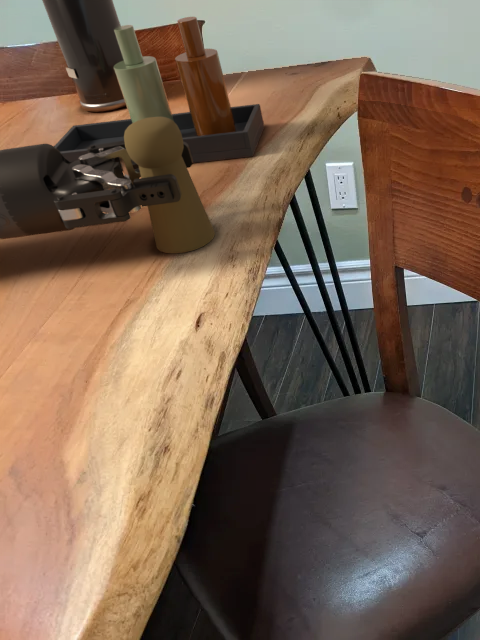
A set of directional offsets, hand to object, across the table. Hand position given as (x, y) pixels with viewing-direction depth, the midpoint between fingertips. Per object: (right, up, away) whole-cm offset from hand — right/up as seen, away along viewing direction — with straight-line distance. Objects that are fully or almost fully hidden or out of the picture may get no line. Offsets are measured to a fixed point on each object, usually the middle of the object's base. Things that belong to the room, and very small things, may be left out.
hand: (184, 169), depth 65 cm
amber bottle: (-2, +15, +22) cm, 26 cm away
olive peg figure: (-1, -5, +5) cm, 7 cm away
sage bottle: (-9, +14, +23) cm, 28 cm away
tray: (-9, +14, +23) cm, 29 cm away
